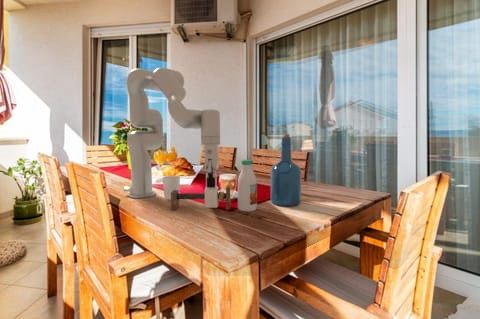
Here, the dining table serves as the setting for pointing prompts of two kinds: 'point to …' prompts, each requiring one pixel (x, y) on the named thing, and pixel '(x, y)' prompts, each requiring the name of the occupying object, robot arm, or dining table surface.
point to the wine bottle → (286, 178)
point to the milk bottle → (247, 187)
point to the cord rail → (198, 197)
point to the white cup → (170, 185)
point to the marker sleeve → (211, 195)
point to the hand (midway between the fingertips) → (211, 186)
